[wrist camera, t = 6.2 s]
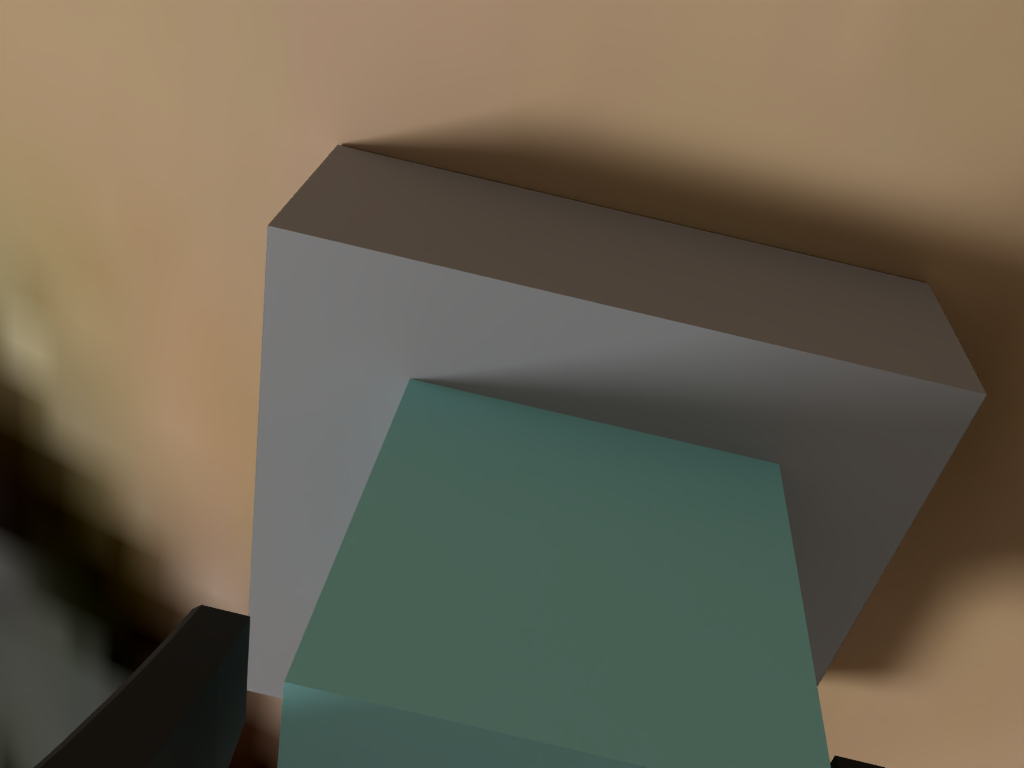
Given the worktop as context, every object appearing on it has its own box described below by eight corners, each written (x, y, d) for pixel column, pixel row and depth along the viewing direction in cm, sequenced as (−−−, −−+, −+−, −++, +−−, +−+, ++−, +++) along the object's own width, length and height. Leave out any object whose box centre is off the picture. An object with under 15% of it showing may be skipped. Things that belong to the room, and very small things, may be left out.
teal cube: (779, 464, 12) (838, 811, 8) (673, 701, 15) (678, 1050, 11) (409, 378, 12) (283, 681, 8) (372, 630, 15) (263, 952, 11)
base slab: (928, 283, 14) (987, 394, 11) (734, 672, 19) (746, 809, 16) (337, 145, 14) (268, 225, 12) (299, 568, 19) (244, 690, 17)
